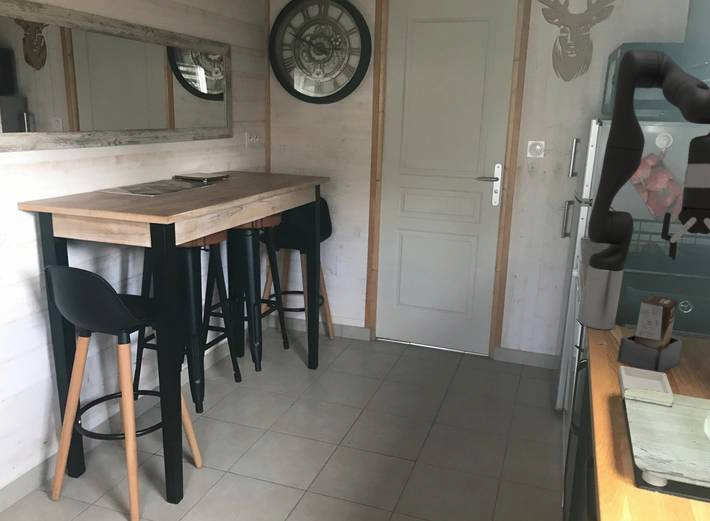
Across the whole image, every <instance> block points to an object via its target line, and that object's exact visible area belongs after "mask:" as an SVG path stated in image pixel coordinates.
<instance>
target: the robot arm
mask: <svg viewBox="0 0 710 521" xmlns="http://www.w3.org/2000/svg"><path fill="white" fill-rule="evenodd" d="M636 89H661V90H662V91H661V92H662V95H663V97H664V98H665V100H666V101H667V102H668V103H670V104H671V105H672V106H674V107H676V108H678V109H679V112H680V114H681V115H682V117H683V118H684V120H685V121H687V122H690V123H691V124H694V125H695V124H696V125H710V87H709V85H708V84H707V83H705V82H704V81H703V80H701V79H699V78H697V77H695V76H693V75H692V74H689V73H688V72H686V71H684V70H683V69H682V68H681V67H680V66H679V65H678V64H677V63H676V61H674V60H673V59H672V58H671V56H669V55H668V54H667V53H665V52H664V51H660V50H650V49H647V50H646V49H629V50H627V51H625V52H624V54H623V55H622V57H621V59H620V63H619V66H618V71H617V77H616V84H615V95H614V102H613V110H612V117H611V123H610V128H609V132H608V137H607V141H606V144H605V150H604V156H603V161H602V166H601V167H602V168H601V172H600V173H601V174H600V178H599V182H598V183H599V184H598V188H597V192H596V195H595V199H594V202H593V206H592V210H591V212H590V213H591V214H590V217H589V221H588V226H587V235H588V239H589V241H590V242H591V243H594V244H609V245H610V246H609V247H607V248H606V249H604V250H602V251H599V252H595V253H593V254H591V255H590V257H589V261H588V269H587V275H586V283H585V288H584V289H582V290H581V294H580V300H579V306H578V315H577V321H576V322H578V323H581V324H582V325H584V326H585V327H589V328H591V329H596V330H612V329H614V328H615V324H616V319H617V311H618V306H619V300H620V299H619V298H620V295H621V294H620V293H621V288H622V282H623V281H622V280H623V276H624V268H625V264H626V262H627V260H628V256H629V255H628V254H629V250H630V245H631V241H632V236H633V233H634V232H633V231H634V219H633V215H632V214H631V212H628V211H623V210H610V208H611V205H612V203H613V201H614V198H616V195H617V194H618V193H619V191H620V190H621V189H622V188H623V187H624V186H625V185H626V184H627V182H628V181H629V180H630V179H631V178H632V177H633V176H634V175H635V173H636V172H637V171H638V169H639V167H640V165H641V163H642V162H641V161H642V159H643V158H642V157H643V153H644V148H645V143H646V141H645V135H644V132H643V130H642V129H643V128H642V127H641V124H640V122H639V120H638V118H637V115H636V112H635V105H634V104H635V103H634V100H635V98H634V97H635V90H636ZM681 200H682V201H681V210H680V212H679V213H674V212H671V211H667V212H665V213H664V216H663V224H662V228H661V235H660V238H661V239H662V240H664V241H667V242H669V249H668V256H669V258H671V260H672V261H676V260H677V253H678V242H677V241H678V240H679V239H680V238H681V237H682V236H683V235H684V234H685V233H686V232H688V233H689V234H702V235H709V234H710V131H709V132H708V133H707V134H704V135H699V136H696V137H693V138H691V140H690V141H689V146H688V156H687V165H686V169H685V174H684V180H683V192H682V199H681ZM676 219H678V220H679V222H680V223H681V225H682V227H680V228H679V229H678V230H677V232H675V233H674V234H673V235H671V234H669V231H670V227H671V224H672V223H674V222H675V220H676Z"/></svg>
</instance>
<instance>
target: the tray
mask: <svg viewBox="0 0 710 521" xmlns="http://www.w3.org/2000/svg"><path fill="white" fill-rule="evenodd" d="M618 380H619V386H620V387H619V388H620V392H621V397H622V399H625V398H624V393H625V391H626V390H628V389H636V388H640V389H641V390H642V389H647V390H653V391H660V392H665V393H668V394H670V395H673V396H674V394H673V390H672V388H671V386H670V382H669V379H668V377H667V374H666V373H665V372H661V373H660V372H654V371H649V370H643V369H638V368H635V367H632V366H631V367H630V366H624V365H619V370H618Z"/></svg>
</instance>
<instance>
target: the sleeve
mask: <svg viewBox="0 0 710 521" xmlns="http://www.w3.org/2000/svg"><path fill="white" fill-rule="evenodd" d="M635 335H636V332H634V333H631V334H628V335H627V336H623V337H622V338H620V342H619V343H620V344H619V349H618V354H617V360H616V361H617V362H618V363H622V364H624V365H628V366H629V367H630V366H631V368H637V369H643V370H649V371H654V372H660V373H664V372H665V371H667V370H669V369H671V368H672V367H675V366H677V365H679V364H680V363H681V362H680V361H681V357H682V352H683V348H684V342H685V340H684V339H681V338H678V337H673V336H671V339H670V344H669V345H668V346H665V347H663V348H661V349H656V348H653V347H650V346H647V345H644V344H641V343H638V342H634V340H635Z"/></svg>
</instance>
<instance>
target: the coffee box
mask: <svg viewBox="0 0 710 521" xmlns="http://www.w3.org/2000/svg"><path fill="white" fill-rule="evenodd" d="M678 302H679V300H678V299H674V298H670V297H664V296H659V295H654V294H651V295H649V296H647V297H645V298H644V299H643V300H641V302H640V308H639V314H638V318H637V319H638V320H637V325H636V330H635V333H636V335H635V340H634V342H638V343H641V344H644V345H647V346H650V347H653V348H656V349H661V348H663V347H665V346H668V345H669V344H670V339H671V337H672V332H673V328H674V322H675V317H676V312H677V308H678V307H677V306H678Z"/></svg>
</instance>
